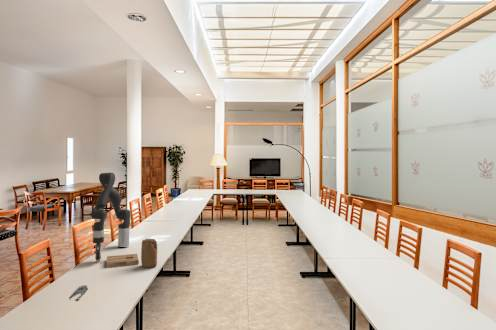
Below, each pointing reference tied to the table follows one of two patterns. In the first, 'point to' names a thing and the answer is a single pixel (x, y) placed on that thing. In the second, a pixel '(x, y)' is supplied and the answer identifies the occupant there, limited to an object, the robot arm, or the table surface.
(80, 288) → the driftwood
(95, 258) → the peg
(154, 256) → the block
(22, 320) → the table surface
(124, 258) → the board
